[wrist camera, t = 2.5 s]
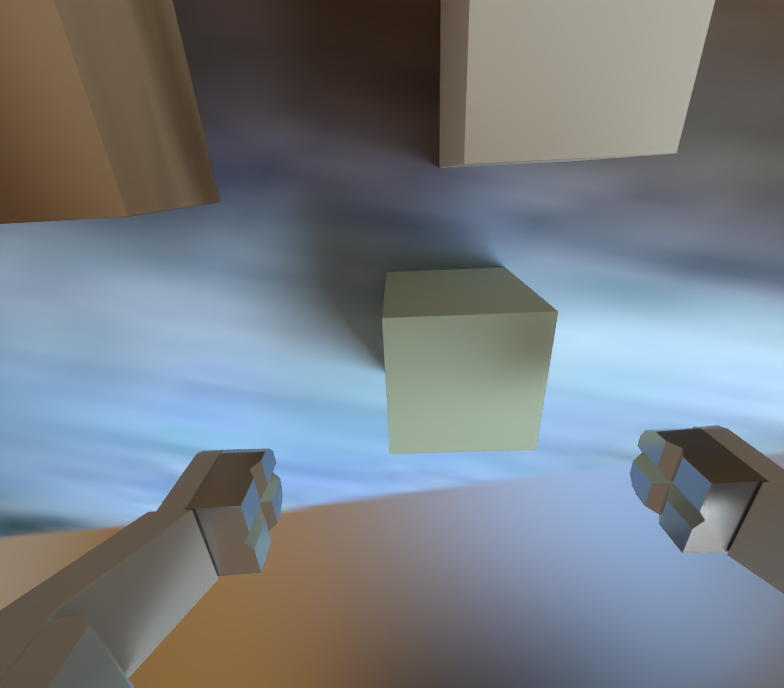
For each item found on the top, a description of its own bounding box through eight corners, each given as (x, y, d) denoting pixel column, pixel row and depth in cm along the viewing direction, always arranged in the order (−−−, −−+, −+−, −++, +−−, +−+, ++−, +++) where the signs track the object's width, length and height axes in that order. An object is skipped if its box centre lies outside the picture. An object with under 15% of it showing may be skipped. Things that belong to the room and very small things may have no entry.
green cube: (504, 266, 14) (557, 311, 9) (495, 370, 16) (536, 449, 11) (386, 271, 14) (381, 318, 9) (391, 374, 16) (390, 453, 11)
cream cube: (598, -16, 10) (756, -163, 6) (572, 161, 12) (676, 153, 8) (440, -6, 10) (474, -143, 6) (439, 167, 12) (464, 164, 8)
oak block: (169, -23, 10) (-6, -173, 6) (221, 201, 13) (128, 216, 8) (-32, -6, 11) (-351, -141, 6) (59, 211, 13) (-118, 230, 9)
